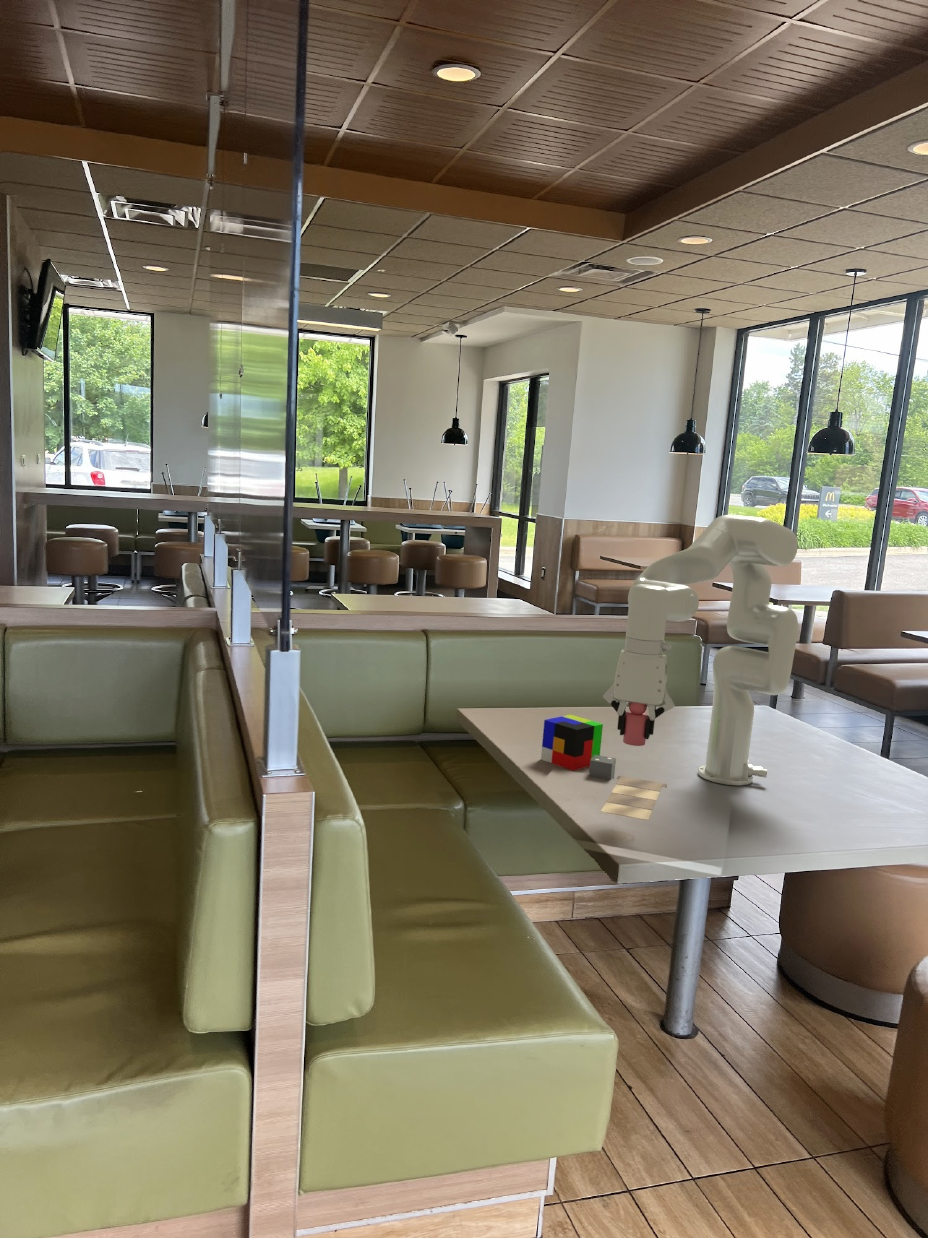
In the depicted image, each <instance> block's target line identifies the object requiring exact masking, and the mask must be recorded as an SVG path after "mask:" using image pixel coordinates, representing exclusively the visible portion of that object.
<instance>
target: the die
mask: <svg viewBox="0 0 928 1238" xmlns="http://www.w3.org/2000/svg"><path fill="white" fill-rule="evenodd" d="M616 763H617V758H616V757H610V756H604V755H600V756H599V755H594V756H593V758H592V759H591V760H590V766H589V770H588V771H589V773H588V777H590V778H591V777H592V778H597V779H603V780H610V781H611V780H613V779H615V772H616Z"/></svg>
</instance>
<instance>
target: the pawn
mask: <svg viewBox="0 0 928 1238" xmlns="http://www.w3.org/2000/svg"><path fill="white" fill-rule="evenodd" d="M628 709H629V710H628V711H626V719H625V729H624V735H623V738H622V742H623V743H624V744H625V745H628V746H633V747H642V746H643V747H644V746H646V740H647V739H645V728H646V720H647V719H648V716H649V713H646V711H647V709H648V705H646V704H639V703H632V702H628Z"/></svg>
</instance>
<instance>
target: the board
mask: <svg viewBox="0 0 928 1238" xmlns="http://www.w3.org/2000/svg"><path fill="white" fill-rule="evenodd" d="M616 780H617V782H616V784H615V786H614V787H613V789H612V791H611V793H610V795H609V796H608V797H607V800H606V802H605V803H604V804H603V807H602V808H601V810H600V813H607V814H613V815H616V816H617V815H618V816H624V817H629V818H634V819H639V820H645V821H650V820H649V819H650V818H651V815H652V812H653V810H654V808H655V806H656V802H657V800H658V798H659V795H660V792H661V791H662V789H663V788H667V787H668V786H667V783H663V782H657V781H651V780H646V779H639V778H633V777H628V776H624V775H623V776H622V775H618V776H617V777H616Z"/></svg>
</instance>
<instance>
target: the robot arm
mask: <svg viewBox="0 0 928 1238" xmlns="http://www.w3.org/2000/svg"><path fill="white" fill-rule="evenodd" d="M798 545H799V544H798V539H797V536H796V534H795V532H793V531H792V530H791V529H790V528H788V527H786V526H785V525H781V524H779V523H777V522H775V521H773V520H770V519H769V518H768V519H767V518H765V517H757V516H747V515H746V516H745V515H735V514H725V515H720V516H718V517H716V518H714V519H713V520H712V521H711V522H710V523H709V524H708V526H707V527H706V528H705V529H704V530H703V531H702V533H701V534H700V535H699V536H698V537H697V538H696V539H695V540H694V541H693V542H692V543H691V545H690V546H689V547H688V548H685V549H684V550H681V551H677V552H675V553H672V554H670V555H667V556H665V557H663V558H660V559H659V560H657V561H655V562H652V563H651V564H650V565H648V566H647V567H645V569H644V570H643V571H642V572H641V573H640V574H639V575H637V578H636V579H635V580H634V581H633V583H632V585H631V587H630V589H629V591H628V596H627V603H628V611H627V618H626V619H627V621H626V629H625V631H626V632H625V638H624V639H625V640H624V641H625V643H624V648H623V649H621V651H620V652H619V653H620V654H619V657H618V661H617V664H616V665H617V666H616V670H615V675H614V676H615V677H614V680H613V681H614V682H613V683H612V685H611V686H610V687H609V688H608V690H606V691H605V692H604V694H603V695H602V698H603V699H604V700H605V701H606V703H609V705H611V706H610V707H612V708H613V709H614V711H615V712H616V714H617V715H618V717H617V718H618V719H617V726H616V727H617V730H618V731H619V736H624V729H625V719H626V712H627V710H626V709H627V706H628V705H629V702H632V703H639V704H646V705H647V709H648V719H647V720H646V728H645V739H646V740H649V738H650V736H653V735H654V729H655V720H656V719H657V718H659V717H660V716H661V715H662V714H664V713H666V712H668V711H670V710H671V709H674V707H675V702H674V700H673V699H672V697H671V695H670V693H669V692H668V690H667V682H668V659H667V655H666V654H663V653H664V652H670V651H671V649H672V644H670V643H667V642H666V641H665V634H666V633H665V632H666V626H667V621H671V622H676V623H677V622H686V621H688V620H691V619H692V618H693V617H694V616H695V615H696V613H697V611H698V609H699V604H700V599H699V597H698V594H697V591H695V590H694V589H693V588H692V587H690V586H688V585H691V584H698V583H703V582H708V581H711V580H714V579H716V578H717V577H718V576H719V575H720V574H721V572H722V571H723V570H724V569H725V568H726V567H727V565H728V564H729V566H730V570H731V572H732V573H731V574H732V579H733V582H732V589H731V596H730V602H729V607H728V615H727V619H726V620H727V621H726V631H727V634H728V636H729V637H730V638H732V639H734V640H736V641H740V642H744V643H750V644H755V645H761V646H766V647H768V651H764V650H759V649H754V648H753V649H752V648H748V647H744V646H743V647H742V646H738V645H737V646H736V645H728V646H724V647H722V648H720V649H719V650H718V651H716V653H715V655H714V658H713V660H712V678H713V697H712V709H711V714H710V724H709V732H708V742H707V751H706V758H705V764H704V765H701V766H699V767H698V769H697V774H698V775H699V777H701V778H703V779H705V780H707V781H708V782H709V781H710V782H713V783H717V784H720V785H727V786H747V785H750V784H752V783H753V780H754V776H757V777H759V778H765V779H766V778H767V777H768V776H767V775H768V774H767V773H768V769H765V768H763V767H762V766H754V765H752V764H750V759H749V756H750V755H749V754H750V748H751V741H752V740H751V739H752V732H753V726H754V725H753V724H754V715H755V705H754V701H753V698H752V696H751V694H750V692H755V693H760V694H764V695H769V696H777V695H778V696H779V695H781V694H783V693H784V692H785V691H786V689H787V687H788V686H789V684H790V683H789V682H790V679H791V674H792V668H793V664H794V662H793V661H794V659H795V658H794V656H795V651H796V645H797V642H798V641H797V640H798V633H799V619H798V616H797V614H796V612H795V611H794V610H793V609H791V608H789V607H787V606H784V605H783V606H782V605H777V604H775V605H774V604H770V597H771V590H772V579H771V576H770V573H769V571H768V569H767V567H766V566H772V567H786V566H789V565H790V564H791V563H793V561H794V559H795V558H796V557H797V553H798V547H799V546H798ZM749 691H750V692H749ZM663 701H664V702H663ZM663 703H664V704H663ZM662 704H663V705H662ZM657 706H659V707H658V708H657Z"/></svg>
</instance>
